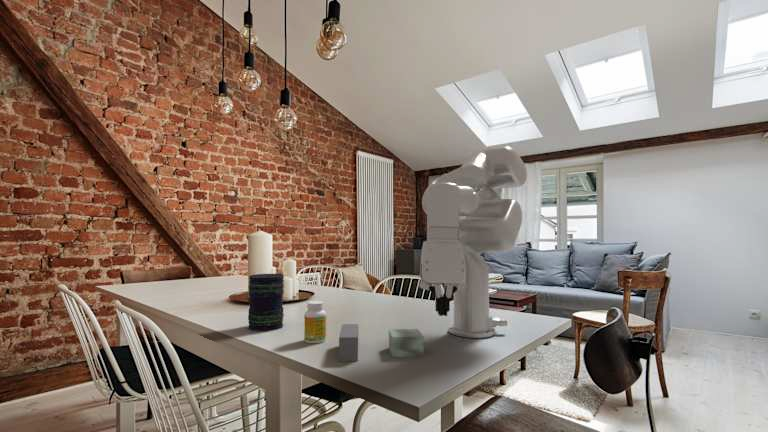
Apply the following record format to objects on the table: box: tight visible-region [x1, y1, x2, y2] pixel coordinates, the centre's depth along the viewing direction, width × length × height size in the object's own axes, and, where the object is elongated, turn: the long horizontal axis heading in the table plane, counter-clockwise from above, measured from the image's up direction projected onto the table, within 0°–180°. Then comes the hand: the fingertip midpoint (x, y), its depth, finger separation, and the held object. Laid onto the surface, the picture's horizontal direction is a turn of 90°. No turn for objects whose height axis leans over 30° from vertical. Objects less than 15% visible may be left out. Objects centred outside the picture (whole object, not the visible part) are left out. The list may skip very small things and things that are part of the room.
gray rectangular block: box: [338, 323, 359, 362], centre depth 90 cm, size 4×12×5 cm, turn 3°
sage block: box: [388, 328, 425, 358], centre depth 90 cm, size 7×7×4 cm
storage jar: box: [247, 273, 285, 332], centre depth 113 cm, size 10×10×15 cm
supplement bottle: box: [303, 300, 327, 344], centre depth 99 cm, size 5×5×10 cm
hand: (442, 314), depth 90 cm, fingers closed
